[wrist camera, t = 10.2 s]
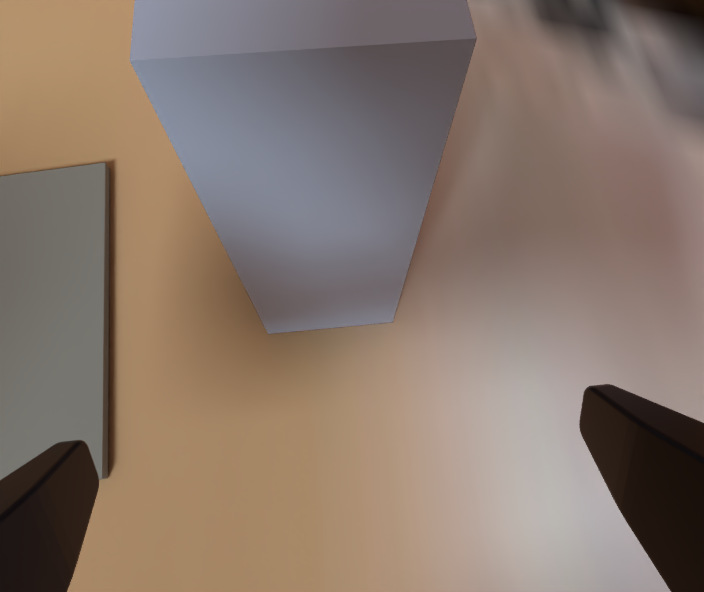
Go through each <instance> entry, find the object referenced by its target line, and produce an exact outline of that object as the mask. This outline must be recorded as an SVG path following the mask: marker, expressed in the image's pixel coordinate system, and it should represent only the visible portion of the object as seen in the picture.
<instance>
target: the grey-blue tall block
mask: <svg viewBox="0 0 704 592" xmlns="http://www.w3.org/2000/svg"><path fill="white" fill-rule="evenodd" d="M476 39H477V37H476V34H475V30H474V26H473V22H472V19H471V15H470V11H469V7H468V3H467V0H135V4H134V16H133V28H132V40H131V52H130V62H131V64H132V66H133V68H134V70H135V72H136V74H137V76H138V78H139V80H140V82H141V84H142V86H143V88H144V90H145V92H146V94H147V96H148V98H149V100H150V102H151V104H152V105H153V107H154V109H155V111H156V113H157V115H158V117H159V119H160V121H161V123H162V125H163V127H164V129H165V131H166V133H167V135H168V137H169V139H170V141H171V143H172V145H173V147H174V149H175V151H176V153H177V155H178V157H179V159H180V161H181V163H182V165H183V167H184V169H185V171H186V173H187V175H188V177H189V179H190V181H191V183H192V185H193V187H194V189H195V191H196V192H197V194H198V196H199V198H200V200H201V202H202V204H203V206H204V208H205V210H206V212H207V214H208V216H209V218H210V220H211V222H212V224H213V226H214V228H215V230H216V232H217V234H218V236H219V238H220V240H221V242H222V244H223V246H224V248H225V250H226V252H227V254H228V256H229V258H230V260H231V262H232V264H233V266H234V268H235V270H236V272H237V274H238V276H239V278H240V279H241V281H242V283H243V285H244V287H245V289H246V291H247V293H248V295H249V297H250V299H251V301H252V303H253V305H254V307H255V309H256V311H257V313H258V315H259V317H260V319H261V321H262V323H263V325H264V327H265V329H266V331H267V333H268V334H273V333H284V332H294V331H305V330H316V329H326V328H337V327H348V326H358V325H369V324H380V323H390V322H393V319H394V316H395V312H396V309H397V306H398V302H399V299H400V295H401V292H402V289H403V285H404V282H405V279H406V275H407V272H408V268H409V265H410V262H411V258H412V255H413V252H414V248H415V245H416V241H417V238H418V235H419V231H420V228H421V225H422V221H423V218H424V214H425V211H426V208H427V204H428V201H429V198H430V194H431V191H432V187H433V184H434V181H435V177H436V174H437V171H438V167H439V164H440V161H441V157H442V154H443V150H444V147H445V144H446V140H447V137H448V134H449V130H450V127H451V123H452V120H453V117H454V113H455V110H456V107H457V103H458V100H459V96H460V93H461V90H462V86H463V83H464V80H465V76H466V73H467V69H468V66H469V63H470V59H471V56H472V53H473V49H474V46H475V42H476Z"/></svg>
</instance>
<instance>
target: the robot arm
mask: <svg viewBox="0 0 704 592" xmlns="http://www.w3.org/2000/svg"><path fill="white" fill-rule="evenodd" d="M580 431H581V434H582V437H583V439H584V441H585V443H586V445H587V447H588V449H589V451H590V453H591V455H592V457H593V459H594V461H595V463H596V465H597V467H598V469H599V471H600V473H601V475H602V477H603V479H604V481H605V483H606V485H607V487H608V489H609V491H610V493H611V495H612V497H613V499H614V500H615V502H616V504H617V506H618V508H619V510H620V511H621V513H622V515H623V516H624V518H625V520H626V521H627V523H628V525H629V526H630V528H631V529H632V531H633V532H634V534H635V536H636V537H637V539H638V540H639V542H640V543H641V545H642V547H643V548H644V550H645V551H646V553H647V554H648V556H649V558H650V559H651V561H652V562H653V564H654V565H655V567H656V569H657V570H658V572H659V573H660V575H661V576H662V578H663V580H664V581H665V583H666V584H667V586H668V587H669V589H670V591H671V592H704V423H702V422H700V421H697V420H695V419H693V418H690V417H688V416H685V415H683V414H681V413H678V412H676V411H673V410H671V409H669V408H666V407H664V406H661V405H659V404H657V403H654V402H652V401H649V400H647V399H645V398H642V397H640V396H637V395H635V394H633V393H630V392H628V391H625V390H623V389H620V388H618V387H616V386H613V385H610V384H604V385H594V386H589V387H587V388H586V389H585V391H584V395H583V402H582V409H581V416H580ZM98 488H99V477H98V473H97V470H96V467H95V464H94V461H93V459H92V456H91V453H90V450H89V447H88V445H87V444H86V442H85V441H82V440H72V441H63V442H58V443H56V444H54V445H53V446H51V447H50V448H48V449H47V450H45V451H44V452H42V453H41V454H39V455H38V456H36V457H35V458H33V459H32V460H30V461H29V462H27V463H26V464H24V465H22V466H21V467H19V468H18V469H16V470H15V471H13V472H12V473H10V474H9V475H7V476H6V477H4V478H3V479H1V480H0V592H67V590H68V587H69V585H70V582H71V579H72V577H73V574H74V571H75V567H76V564H77V561H78V558H79V554H80V551H81V547H82V544H83V541H84V537H85V534H86V530H87V527H88V523H89V520H90V516H91V513H92V509H93V506H94V503H95V499H96V496H97V492H98Z"/></svg>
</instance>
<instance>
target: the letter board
mask: <svg viewBox="0 0 704 592" xmlns="http://www.w3.org/2000/svg"><path fill="white" fill-rule="evenodd" d="M109 204H110V168H109V167H108V166H107V164H106V163H97V164H90V165H82V166H75V167H67V168H60V169H52V170H44V171H37V172H29V173H22V174H14V175H7V176H0V480H1V479H3V478H4V477H6V476H7V475H9V474H10V473H12V472H13V471H15V470H16V469H18V468H19V467H21V466H22V465H24V464H26V463H27V462H29V461H30V460H32V459H33V458H35V457H36V456H38V455H39V454H41V453H42V452H44V451H45V450H47V449H48V448H50V447H51V446H53V445H54V444H56V443H58V442H63V441H72V440H82V441H85V442H86V444H87V445H88V447H89V450H90V453H91V456H92V459H93V461H94V464H95V467H96V470H97V473H98V477H99V480H100V479H106V478H108V376H109Z"/></svg>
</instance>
